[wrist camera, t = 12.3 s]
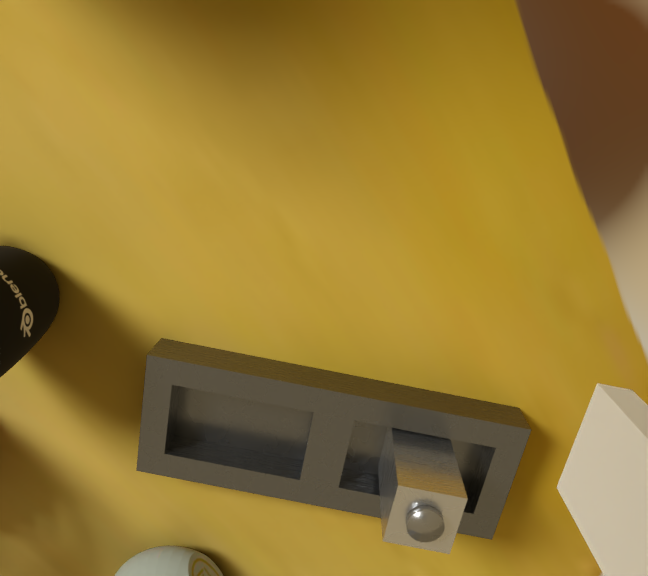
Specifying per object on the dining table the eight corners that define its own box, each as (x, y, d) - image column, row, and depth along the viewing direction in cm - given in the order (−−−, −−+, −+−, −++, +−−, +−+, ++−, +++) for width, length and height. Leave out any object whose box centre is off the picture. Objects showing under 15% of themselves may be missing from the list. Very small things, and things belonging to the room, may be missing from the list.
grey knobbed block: (390, 417, 42) (398, 491, 33) (447, 428, 42) (469, 505, 33) (377, 465, 43) (383, 548, 35) (433, 476, 43) (451, 561, 35)
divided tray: (161, 338, 41) (146, 354, 38) (519, 407, 41) (531, 429, 38) (150, 447, 44) (136, 470, 41) (483, 512, 44) (491, 539, 41)
